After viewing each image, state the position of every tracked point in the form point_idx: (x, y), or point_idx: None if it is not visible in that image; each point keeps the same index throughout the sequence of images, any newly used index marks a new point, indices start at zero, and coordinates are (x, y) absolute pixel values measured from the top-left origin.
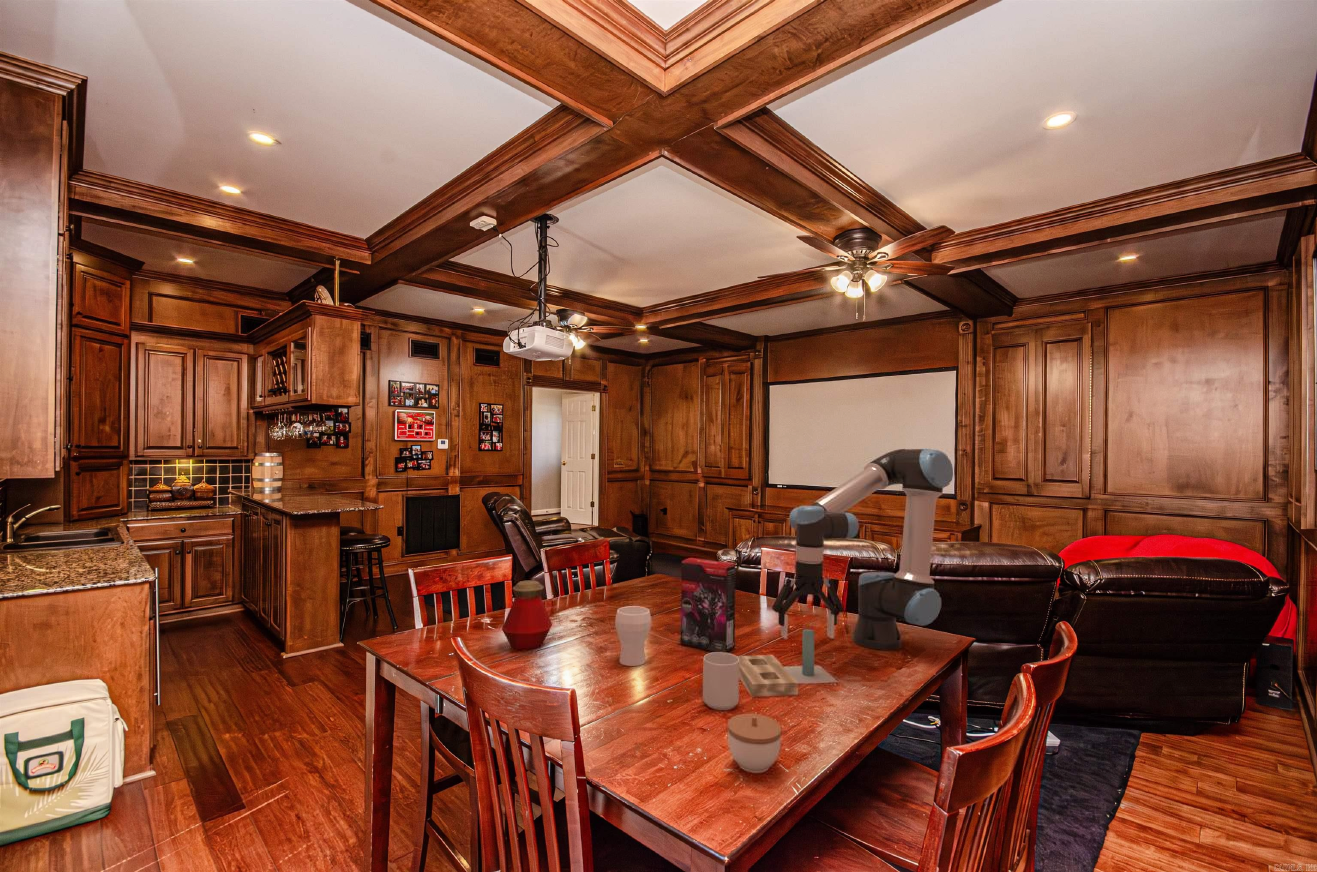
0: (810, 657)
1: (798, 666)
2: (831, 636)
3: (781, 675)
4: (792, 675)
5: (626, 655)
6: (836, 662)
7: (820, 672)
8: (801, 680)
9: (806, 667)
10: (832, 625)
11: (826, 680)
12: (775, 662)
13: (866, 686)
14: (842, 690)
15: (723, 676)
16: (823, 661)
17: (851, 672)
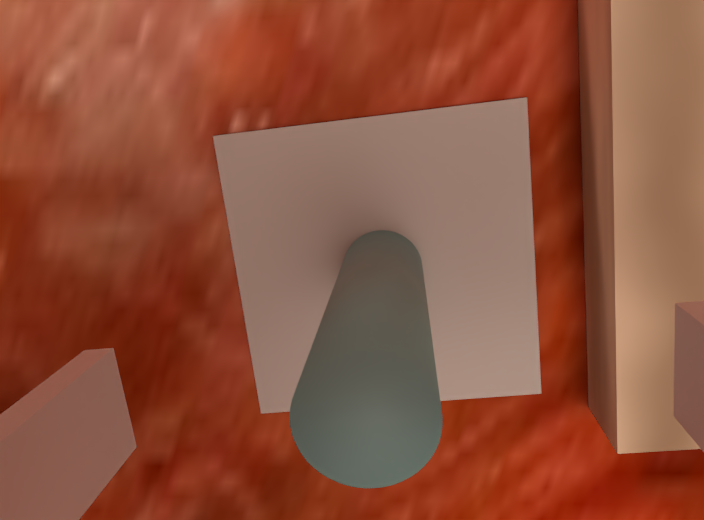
0: (372, 263)
1: None
2: (100, 356)
3: (702, 7)
4: (502, 244)
5: None
6: (136, 477)
7: (287, 299)
8: (464, 155)
9: (404, 251)
10: (6, 424)
11: (284, 160)
12: (649, 300)
13: (36, 91)
14: (214, 14)
15: None
16: (214, 493)
17: (80, 321)
